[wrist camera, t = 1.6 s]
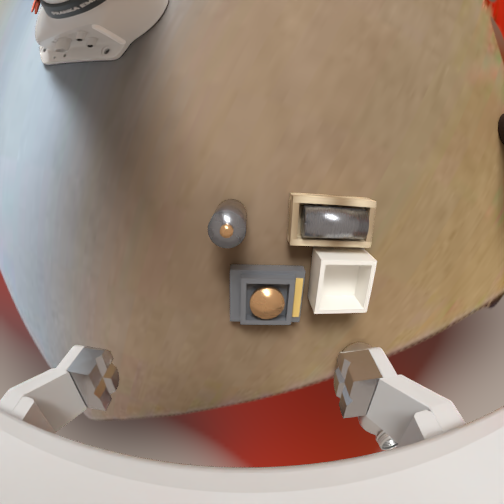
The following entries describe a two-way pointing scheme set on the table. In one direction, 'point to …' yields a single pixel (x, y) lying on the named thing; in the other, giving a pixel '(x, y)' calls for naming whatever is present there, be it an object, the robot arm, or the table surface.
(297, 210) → the trough
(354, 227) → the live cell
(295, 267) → the cradle
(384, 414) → the robot arm
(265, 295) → the copper disc
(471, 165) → the table surface
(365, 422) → the plastic bottle
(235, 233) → the cylinder
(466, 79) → the table surface
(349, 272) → the white square box
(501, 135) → the vinegar
